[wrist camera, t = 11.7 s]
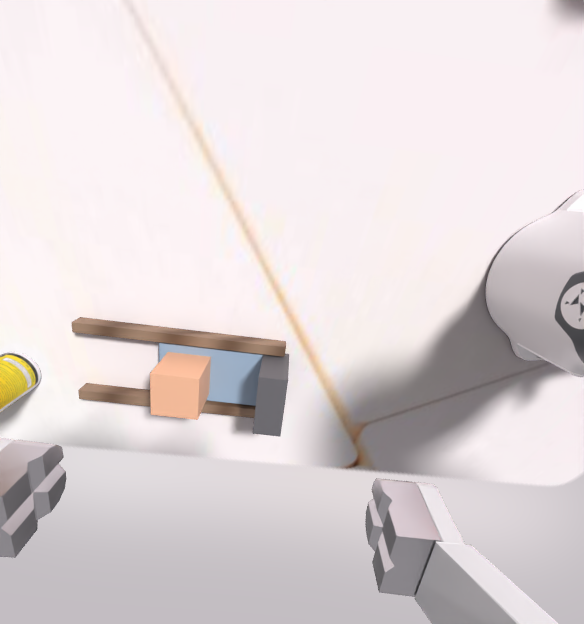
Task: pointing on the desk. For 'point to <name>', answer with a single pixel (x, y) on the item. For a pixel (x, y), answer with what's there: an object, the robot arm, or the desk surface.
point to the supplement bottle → (16, 377)
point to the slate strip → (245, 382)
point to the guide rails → (171, 337)
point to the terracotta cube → (180, 385)
